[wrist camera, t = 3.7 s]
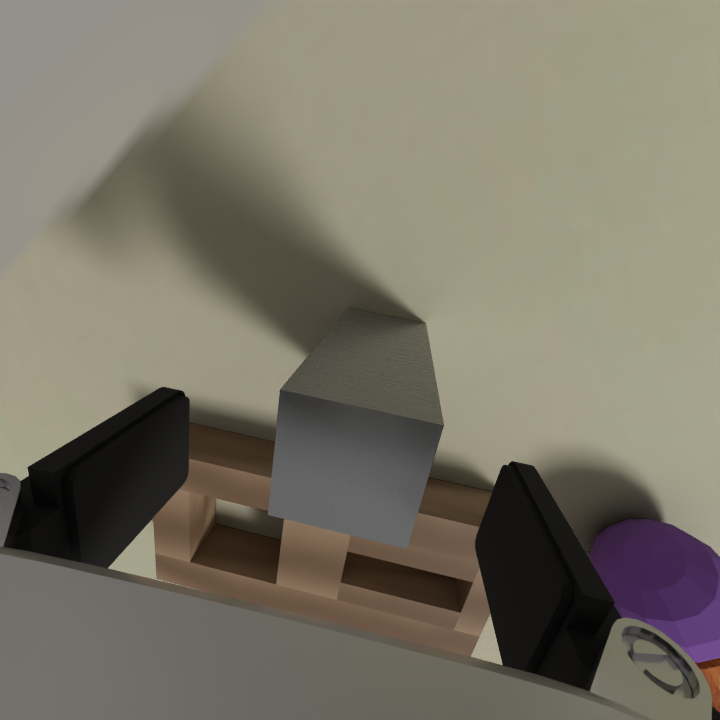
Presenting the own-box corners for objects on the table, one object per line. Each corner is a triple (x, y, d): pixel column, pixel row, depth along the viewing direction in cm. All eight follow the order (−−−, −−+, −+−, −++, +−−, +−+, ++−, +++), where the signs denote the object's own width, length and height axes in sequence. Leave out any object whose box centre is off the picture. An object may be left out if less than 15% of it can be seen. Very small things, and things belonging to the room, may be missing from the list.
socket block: (183, 421, 22) (149, 449, 19) (508, 495, 20) (524, 537, 17) (184, 540, 25) (156, 578, 22) (461, 610, 24) (468, 660, 21)
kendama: (722, 804, 21) (590, 622, 16) (671, 681, 26) (558, 509, 21) (864, 823, 18) (764, 609, 13) (777, 681, 23) (679, 483, 18)
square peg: (348, 307, 18) (279, 389, 8) (425, 323, 18) (444, 425, 8) (336, 378, 19) (267, 515, 10) (408, 393, 19) (406, 548, 10)
